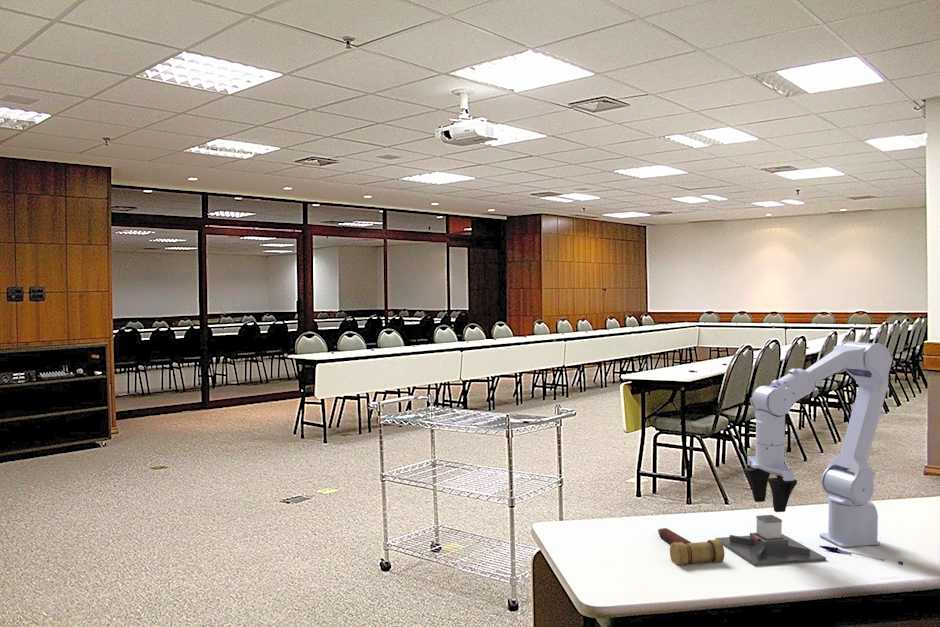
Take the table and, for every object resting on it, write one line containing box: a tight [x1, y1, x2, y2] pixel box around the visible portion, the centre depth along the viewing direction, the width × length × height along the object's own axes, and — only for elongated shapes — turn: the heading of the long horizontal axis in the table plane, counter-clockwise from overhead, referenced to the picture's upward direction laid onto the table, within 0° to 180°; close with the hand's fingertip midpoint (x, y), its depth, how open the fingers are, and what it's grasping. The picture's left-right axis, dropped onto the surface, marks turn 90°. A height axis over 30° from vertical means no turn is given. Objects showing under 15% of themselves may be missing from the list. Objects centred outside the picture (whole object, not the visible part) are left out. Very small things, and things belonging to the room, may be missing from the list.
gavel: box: [657, 527, 725, 566], centre depth 169 cm, size 21×5×10 cm
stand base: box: [715, 532, 827, 567], centre depth 167 cm, size 16×16×3 cm
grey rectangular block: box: [756, 514, 783, 540], centre depth 167 cm, size 4×4×6 cm
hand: (769, 506), depth 167 cm, fingers open, 7 cm apart
